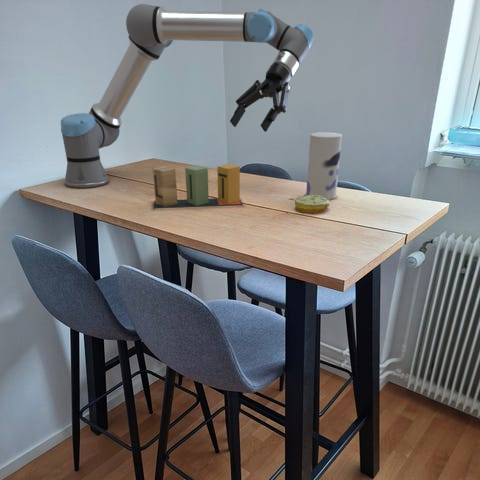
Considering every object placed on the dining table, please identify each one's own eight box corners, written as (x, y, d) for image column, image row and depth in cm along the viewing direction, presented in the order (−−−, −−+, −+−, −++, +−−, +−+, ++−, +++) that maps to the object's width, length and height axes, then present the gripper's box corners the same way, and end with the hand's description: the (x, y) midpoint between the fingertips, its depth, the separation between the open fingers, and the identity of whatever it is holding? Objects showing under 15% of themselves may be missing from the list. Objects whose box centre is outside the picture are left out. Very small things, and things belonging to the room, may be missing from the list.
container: (328, 202, 154) (335, 137, 144) (301, 197, 158) (305, 134, 148) (340, 195, 161) (346, 133, 151) (313, 191, 165) (318, 130, 155)
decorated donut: (335, 209, 147) (336, 197, 145) (315, 216, 140) (316, 204, 138) (307, 202, 153) (308, 190, 151) (287, 209, 146) (288, 197, 144)
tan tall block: (155, 203, 150) (152, 168, 144) (168, 200, 153) (165, 166, 148) (164, 207, 147) (161, 171, 141) (177, 203, 150) (175, 168, 144)
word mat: (153, 210, 146) (153, 207, 146) (154, 202, 154) (154, 199, 153) (242, 206, 149) (242, 204, 149) (239, 199, 157) (239, 196, 156)
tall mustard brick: (217, 201, 152) (216, 166, 147) (229, 198, 155) (228, 163, 150) (228, 204, 149) (227, 168, 143) (239, 201, 152) (239, 166, 147)
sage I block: (186, 202, 151) (184, 167, 146) (198, 199, 154) (197, 165, 149) (196, 206, 148) (195, 170, 142) (208, 202, 151) (207, 167, 146)
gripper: (247, 61, 154) (214, 114, 152) (307, 62, 138) (271, 121, 137) (258, 78, 160) (226, 130, 158) (317, 82, 144) (282, 139, 143)
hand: (247, 126), depth 147 cm, fingers open, 13 cm apart
